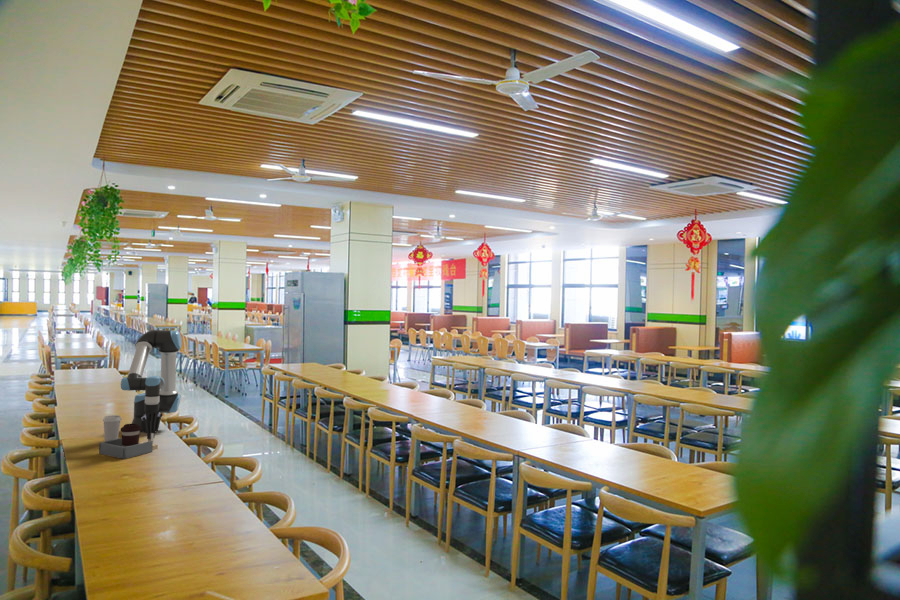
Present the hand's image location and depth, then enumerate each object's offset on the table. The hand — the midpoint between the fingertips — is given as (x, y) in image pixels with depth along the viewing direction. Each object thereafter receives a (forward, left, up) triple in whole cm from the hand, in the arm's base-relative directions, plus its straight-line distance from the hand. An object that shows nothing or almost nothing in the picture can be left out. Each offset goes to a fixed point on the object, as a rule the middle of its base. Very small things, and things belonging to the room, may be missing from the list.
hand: (150, 444), depth 330 cm
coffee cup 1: (+5, -27, -2) cm, 28 cm away
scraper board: (+5, +1, -2) cm, 5 cm away
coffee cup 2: (+13, 0, -2) cm, 13 cm away
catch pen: (+15, 0, -1) cm, 15 cm away
